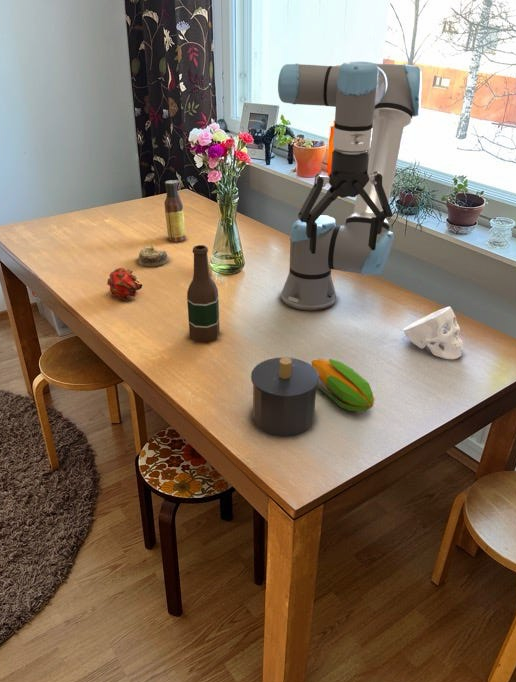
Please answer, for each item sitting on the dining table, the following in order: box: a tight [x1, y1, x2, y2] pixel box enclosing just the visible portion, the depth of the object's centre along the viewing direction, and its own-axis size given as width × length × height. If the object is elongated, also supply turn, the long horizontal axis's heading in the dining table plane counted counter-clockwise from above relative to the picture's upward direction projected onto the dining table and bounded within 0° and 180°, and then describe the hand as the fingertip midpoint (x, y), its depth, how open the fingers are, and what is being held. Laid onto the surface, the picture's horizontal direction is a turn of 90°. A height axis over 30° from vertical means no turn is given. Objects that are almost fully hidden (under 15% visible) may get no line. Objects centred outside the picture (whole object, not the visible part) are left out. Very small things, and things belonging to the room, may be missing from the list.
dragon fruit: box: [106, 267, 143, 301], centre depth 167 cm, size 8×8×12 cm
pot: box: [252, 384, 317, 437], centre depth 121 cm, size 13×13×10 cm
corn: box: [311, 358, 375, 413], centre depth 128 cm, size 7×8×20 cm
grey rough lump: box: [137, 245, 170, 268], centre depth 188 cm, size 10×10×5 cm
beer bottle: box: [186, 244, 220, 344], centre depth 144 cm, size 8×8×24 cm
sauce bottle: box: [164, 179, 187, 243], centre depth 200 cm, size 7×6×20 cm
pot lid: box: [250, 357, 320, 398], centre depth 117 cm, size 14×14×5 cm
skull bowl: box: [403, 306, 464, 360], centre depth 145 cm, size 10×14×12 cm
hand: (342, 249), depth 130 cm, fingers open, 13 cm apart
